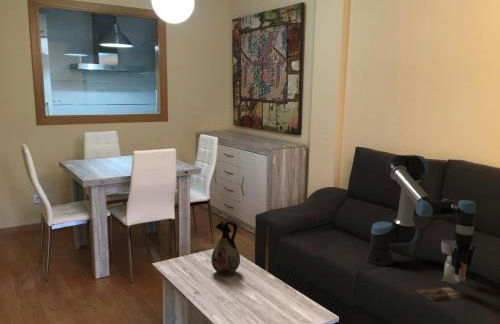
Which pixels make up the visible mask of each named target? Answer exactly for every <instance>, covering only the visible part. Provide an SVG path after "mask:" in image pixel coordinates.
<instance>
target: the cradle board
mask: <svg viewBox="0 0 500 324" xmlns="http://www.w3.org/2000/svg"><path fill="white" fill-rule="evenodd" d="M414 291H415V292H417V293H418V294H420V295H421V296H423V297H424V298H427V299H428V300H430V301H431V302H433V303H436V302H442V301H448V300H453V299H458V298H459V299H460V298H465V297H467V296H466V295H465V294H462V293H460V292H459V291H457V290H455V289H454V288H451V287H449V286H448V285H446V284H445V285H440V286H433V287H426V288H417V289H414Z"/></svg>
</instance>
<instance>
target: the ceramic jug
mask: <svg viewBox="0 0 500 324" xmlns="http://www.w3.org/2000/svg"><path fill="white" fill-rule="evenodd" d="M230 225H231V226H232V227H233V230H231V228H230V227H229V226H230ZM214 229H217V230H219V231H220V232H222V236H221V238H220V239H219V240H218V241H217V243H216V245H214V246H215V247H214V248H213V251H212V254H211V261H210V262H211V266H212V268H213V269H214V270H215V271H216V274H217V275H218V276H219V277H226V278H227V277H231V276H234V275H235V274H236V273H235V272H236V271H237V269H238V268H239V267H240V264H241V255H240V252H239V249H238V247H237V246H236V242H235V237H236V235H237V232H238V225H237V223H236V222H235V221H233V220H226V222H224V221H221V222H220V223H217V225H216V226H215V227H214ZM230 233H232V235H231V236H230Z"/></svg>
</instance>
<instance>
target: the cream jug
mask: <svg viewBox="0 0 500 324" xmlns="http://www.w3.org/2000/svg"><path fill="white" fill-rule="evenodd" d="M460 268H461V276H465V277H466V275H467V271H466V268H467V265H466V264H464V263H462V261H461V266H460ZM467 269H468V268H467ZM442 279H443V280H442V281H443V282H446V283H448V284H453V285H454V284H458V283H459V282H458V281H456V280H455V267H453V266H452V260H451V256H447V258H446V260H445V262H444V269H443V278H442Z"/></svg>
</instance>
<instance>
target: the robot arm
mask: <svg viewBox="0 0 500 324" xmlns="http://www.w3.org/2000/svg"><path fill="white" fill-rule="evenodd" d="M386 171H387V174H388V175H389V177H390V179H392V180H393V181H396V182H397V184H398V185H399V186H400V187H401V190H400V194H399V195H400V196H399V203H398V210H397V216H396V218H395V219H394V220H393V223H392V222H389V221H377V222H375V223H373V224H372V226H371V230H370V233H371V235H370V247H369V250H368V253H367V254H366V261H367V262H368V263H370V264H371V265H373V266H374V265H375V266H379V267H387V266H388V267H389V266H392V265H393V264H394V258H393V254H392V253H393V252H392V246H393V245H408V244H409V245H410V244H413V243H414V242H416V240H417V238H418V235H419V232H418V228H417V225H415V222H414V221H413V219H414V213H416V215H418V216H419V217H425V218H426V217H427V218H428V217H430V218H431V217H453V218H456V224H455V225H456V226H455V232H454V233H455V235H454V239H455V240H454V241H456V244H455V246H454V247H451V248H450V249H451V260H452V266H453V267H455V280H456V281H458V283H460V282H465V281H466V276H461V268H460V266H461V262H462V263H464V264H466V265H467V268H466V272H467V271H468V269H470V267H471V265H472V262H473V261H472V260H473V255H474V251H475V249H476V246H475V245H472V243H473V241H474V228H475V223H476V221H475V219H476V213H477V204H476V202H475V201H472V200H467V199H461V200H459V201H456V200H453V199H448V198H444V199H442V200H433V199H432V198H431V197H430V196H429V195H428V194H427V193H426V191H425V190H424V189H423V188H422V187H421V185H420V184H419V183H420V182H421V181H422V180H423V177H424V176H426V175H427V174H428V171H429V163H428V162H427V159H426V158H425V157H424V156H423V155H416V154H409V155H407V154H405V155H404V154H403V155H401V154H398V155H395V156H392V157H391V158H390V159H389V160H388V162H387V164H386Z"/></svg>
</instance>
